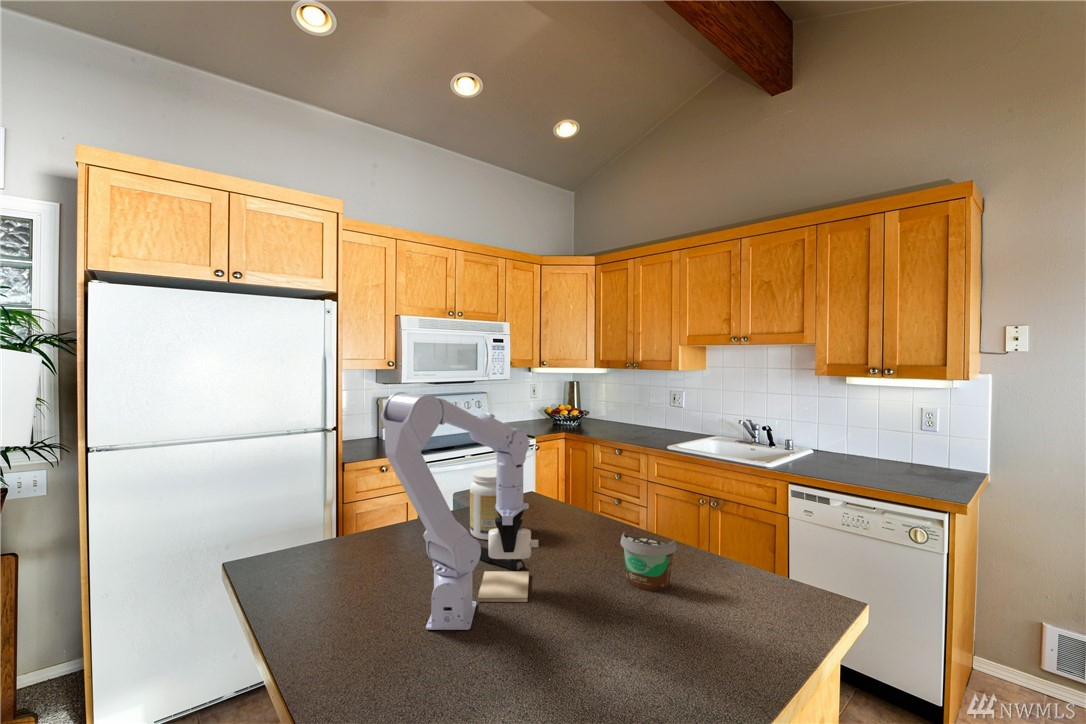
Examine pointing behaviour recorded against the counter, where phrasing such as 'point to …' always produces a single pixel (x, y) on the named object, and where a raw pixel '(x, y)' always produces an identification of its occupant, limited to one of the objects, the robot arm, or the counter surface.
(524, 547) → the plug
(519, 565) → the electric trimmer
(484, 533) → the supplement tub
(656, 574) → the food container
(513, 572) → the cutting board
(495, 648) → the counter surface
